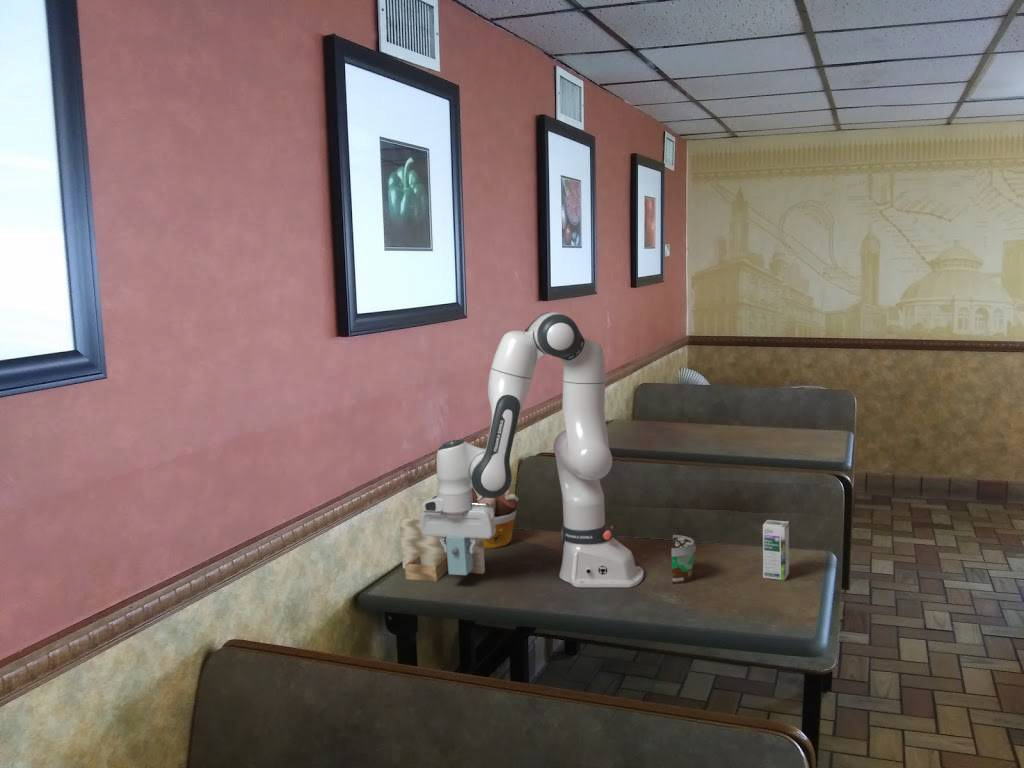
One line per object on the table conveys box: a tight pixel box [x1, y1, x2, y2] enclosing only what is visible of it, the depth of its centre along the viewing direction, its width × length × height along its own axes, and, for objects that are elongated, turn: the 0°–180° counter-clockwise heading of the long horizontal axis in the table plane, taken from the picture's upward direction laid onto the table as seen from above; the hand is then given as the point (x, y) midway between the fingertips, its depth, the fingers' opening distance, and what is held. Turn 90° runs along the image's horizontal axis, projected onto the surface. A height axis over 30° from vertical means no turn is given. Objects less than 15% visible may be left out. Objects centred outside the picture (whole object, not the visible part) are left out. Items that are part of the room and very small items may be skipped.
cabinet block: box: [446, 537, 473, 576], centre depth 246 cm, size 5×6×10 cm
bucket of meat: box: [472, 487, 519, 550], centre depth 281 cm, size 20×16×20 cm
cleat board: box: [399, 518, 486, 582], centre depth 256 cm, size 24×10×14 cm, turn 72°
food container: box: [671, 534, 697, 585], centre depth 246 cm, size 12×6×10 cm, turn 168°
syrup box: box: [762, 519, 790, 581], centre depth 244 cm, size 6×6×14 cm
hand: (459, 552), depth 247 cm, fingers closed on cabinet block, 5 cm apart
